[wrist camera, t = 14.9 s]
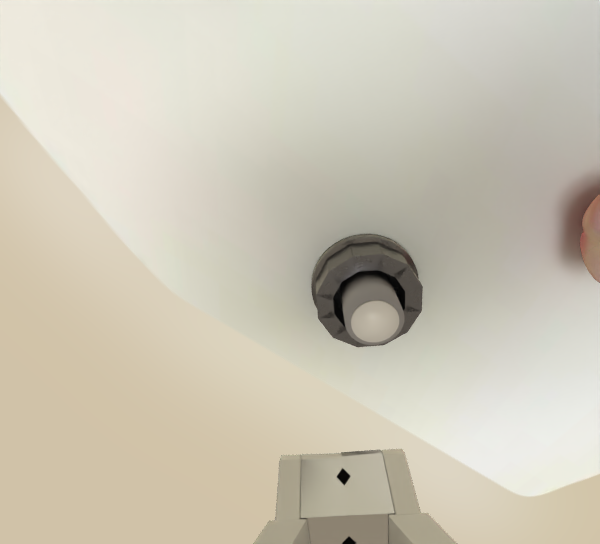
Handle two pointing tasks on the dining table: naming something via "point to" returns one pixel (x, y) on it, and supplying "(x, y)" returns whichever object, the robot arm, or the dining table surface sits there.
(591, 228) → the decorative fruit
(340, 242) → the faceted grey ring
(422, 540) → the robot arm
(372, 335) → the grey cylinder
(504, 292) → the dining table surface
